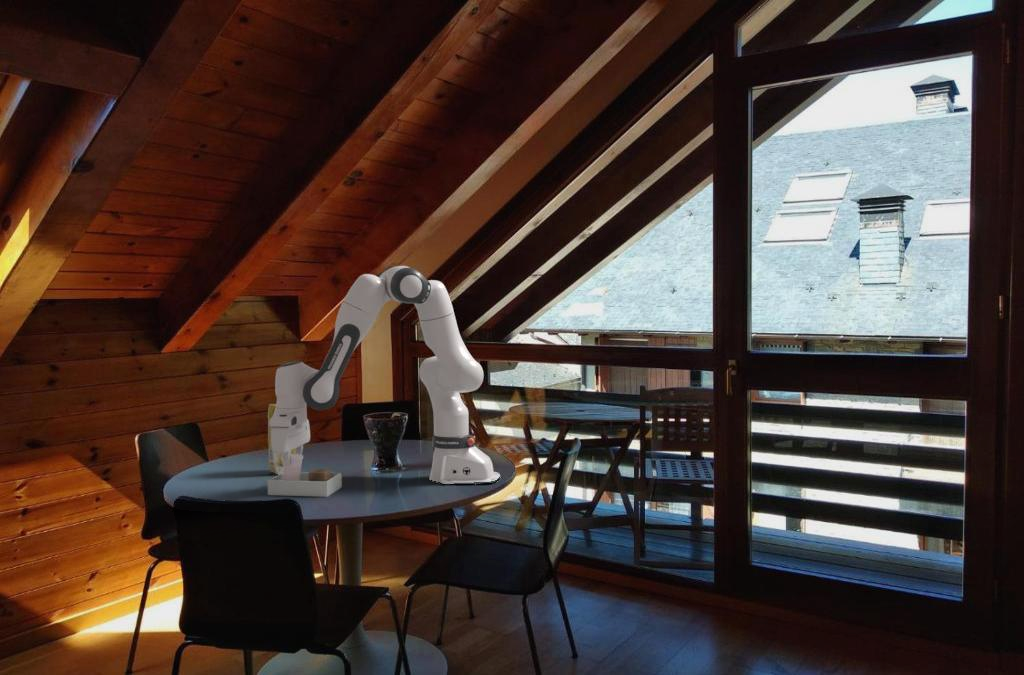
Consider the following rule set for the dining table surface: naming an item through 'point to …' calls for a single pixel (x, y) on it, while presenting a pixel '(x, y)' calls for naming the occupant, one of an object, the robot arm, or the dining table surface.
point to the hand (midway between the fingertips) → (292, 462)
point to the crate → (304, 486)
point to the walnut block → (319, 475)
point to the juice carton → (274, 458)
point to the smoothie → (293, 467)
